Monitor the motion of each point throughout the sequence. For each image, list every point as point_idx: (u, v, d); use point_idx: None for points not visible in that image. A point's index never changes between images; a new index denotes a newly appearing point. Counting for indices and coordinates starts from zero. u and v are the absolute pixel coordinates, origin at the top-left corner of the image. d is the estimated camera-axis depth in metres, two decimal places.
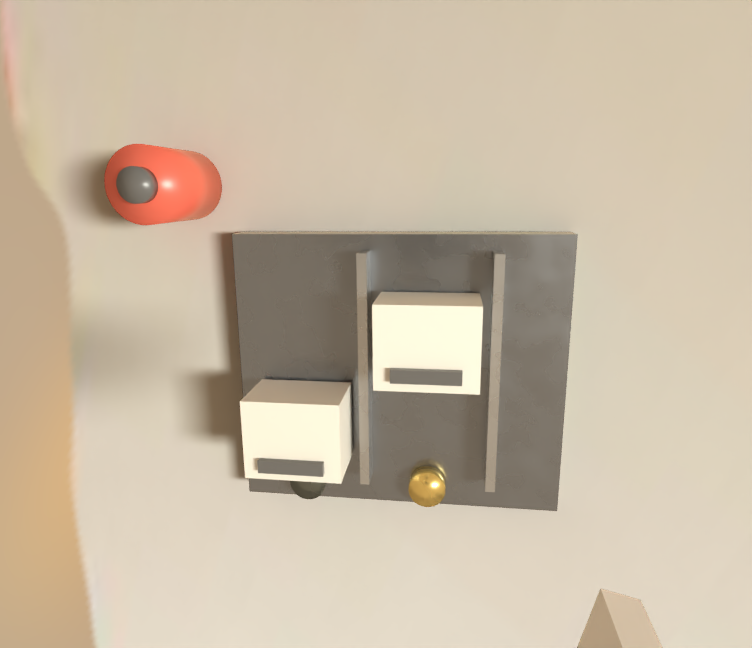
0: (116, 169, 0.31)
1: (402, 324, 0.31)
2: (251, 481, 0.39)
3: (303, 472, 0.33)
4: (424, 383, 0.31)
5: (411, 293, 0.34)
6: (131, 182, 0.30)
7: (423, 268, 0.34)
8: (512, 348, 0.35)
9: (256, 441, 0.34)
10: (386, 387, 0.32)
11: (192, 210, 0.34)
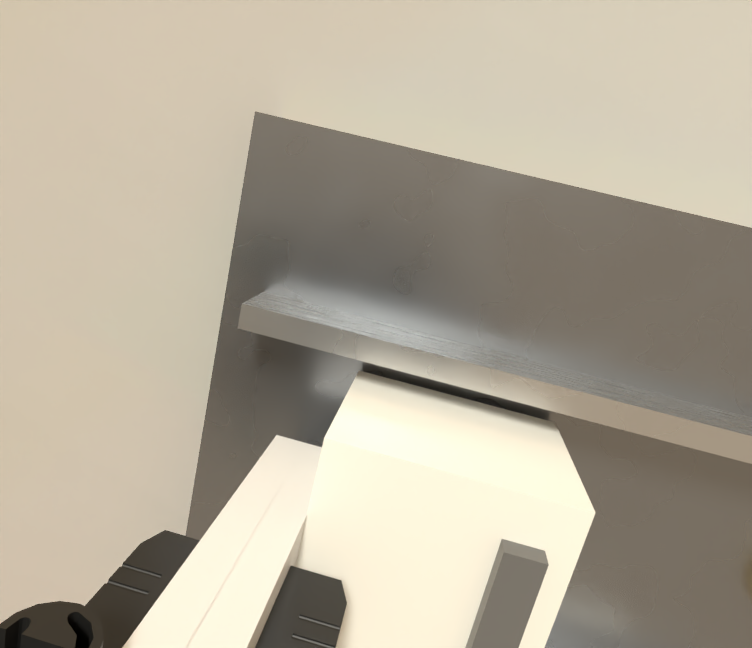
0: None
1: None
2: None
3: None
4: None
5: None
6: None
7: None
8: (503, 319, 0.14)
9: None
10: None
11: None
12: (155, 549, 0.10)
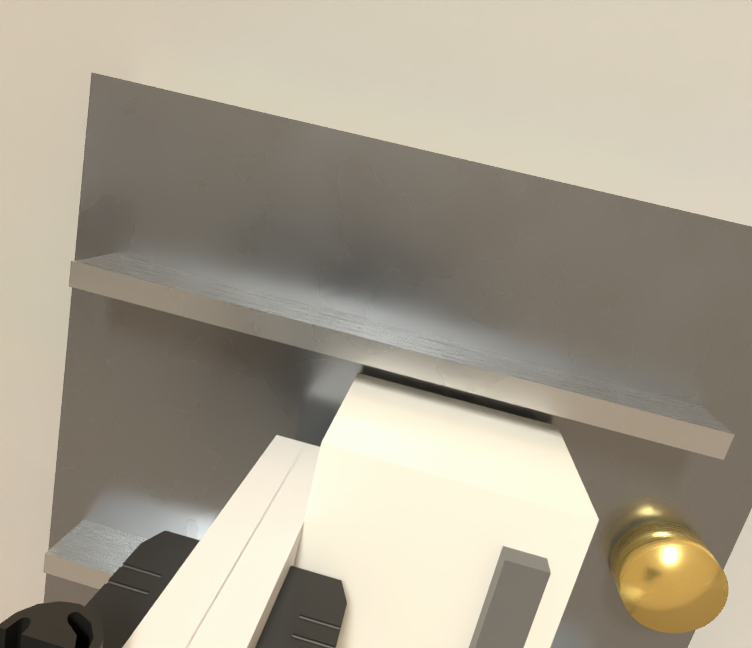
0: None
1: None
2: None
3: None
4: None
5: None
6: None
7: (131, 429, 0.15)
8: (342, 280, 0.14)
9: None
10: None
11: None
12: (155, 549, 0.10)
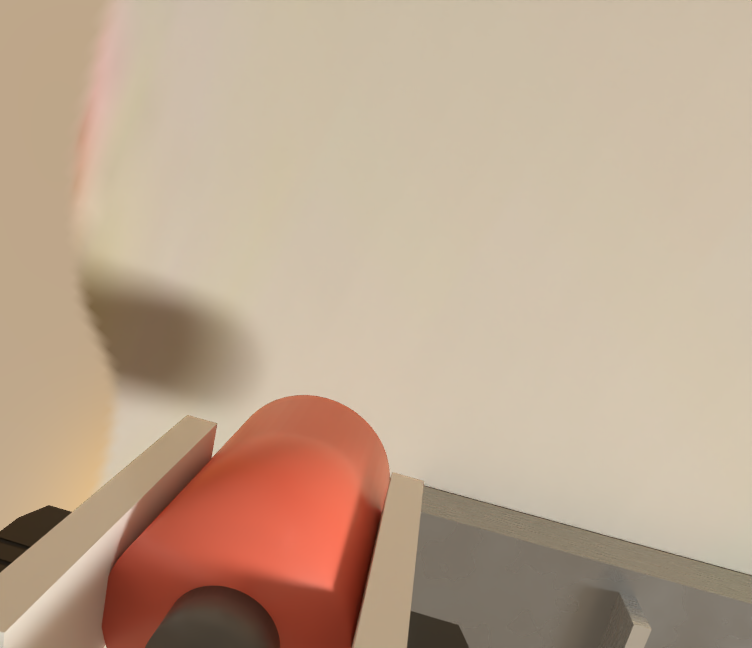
0: (154, 569, 0.09)
1: None
2: None
3: None
4: None
5: None
6: None
7: (715, 647, 0.21)
8: None
9: None
10: None
11: None
12: (33, 523, 0.10)
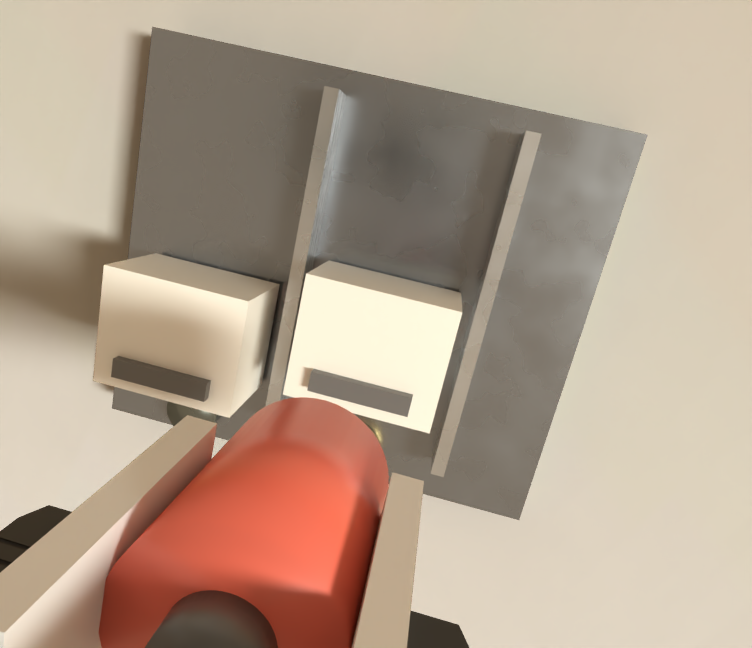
0: (150, 575, 0.09)
1: (342, 311, 0.21)
2: (116, 395, 0.28)
3: (177, 389, 0.22)
4: (355, 401, 0.22)
5: (368, 272, 0.24)
6: None
7: (416, 139, 0.23)
8: (514, 283, 0.24)
9: (118, 329, 0.23)
10: (302, 394, 0.22)
11: None
12: (33, 523, 0.10)
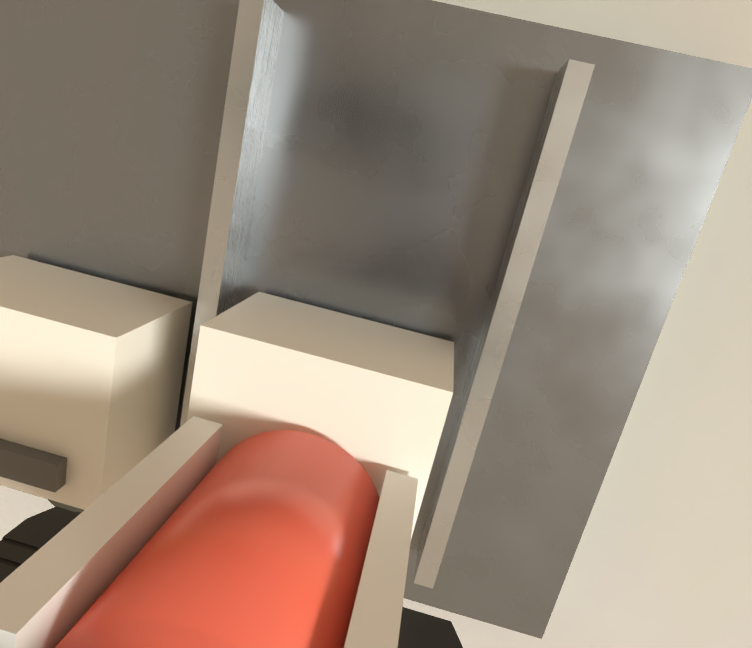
0: None
1: (260, 385, 0.13)
2: None
3: (12, 472, 0.14)
4: None
5: (316, 310, 0.16)
6: None
7: (393, 82, 0.15)
8: (541, 303, 0.16)
9: None
10: None
11: None
12: (40, 524, 0.10)
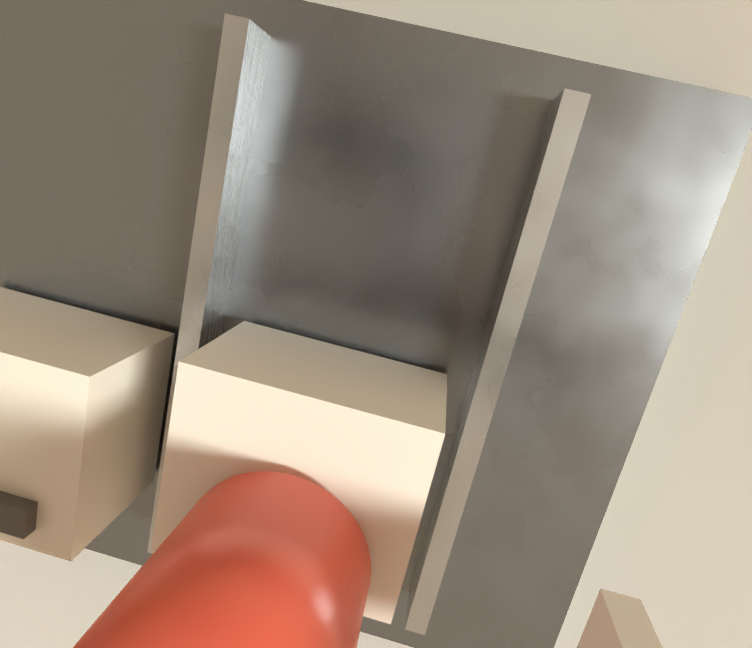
0: None
1: (241, 424, 0.12)
2: None
3: None
4: None
5: (303, 341, 0.16)
6: None
7: (383, 109, 0.15)
8: (537, 337, 0.15)
9: None
10: None
11: None
12: None
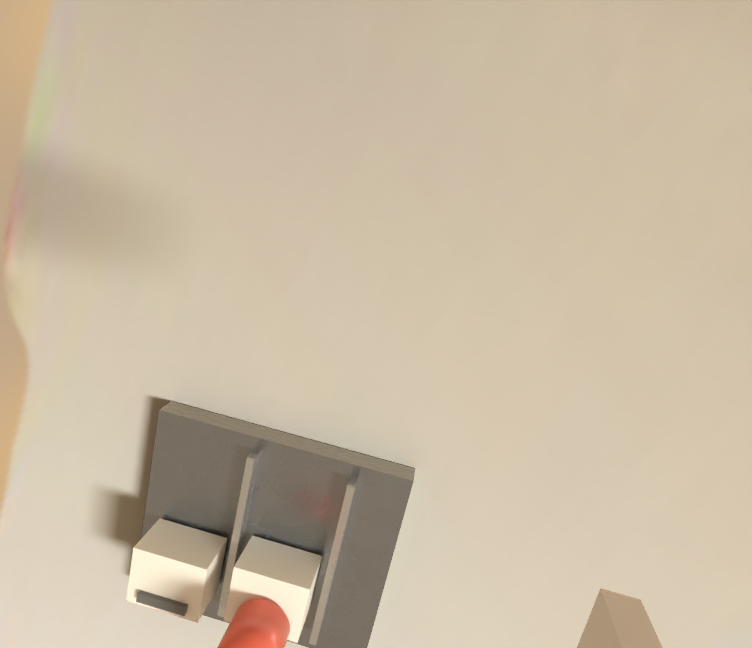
0: None
1: (252, 584, 0.42)
2: None
3: (170, 609, 0.43)
4: None
5: (272, 545, 0.45)
6: None
7: (298, 473, 0.44)
8: (352, 544, 0.45)
9: (140, 577, 0.44)
10: None
11: None
12: None
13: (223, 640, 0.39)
